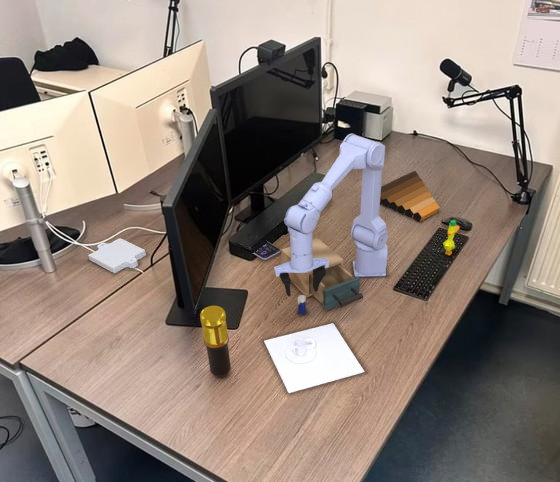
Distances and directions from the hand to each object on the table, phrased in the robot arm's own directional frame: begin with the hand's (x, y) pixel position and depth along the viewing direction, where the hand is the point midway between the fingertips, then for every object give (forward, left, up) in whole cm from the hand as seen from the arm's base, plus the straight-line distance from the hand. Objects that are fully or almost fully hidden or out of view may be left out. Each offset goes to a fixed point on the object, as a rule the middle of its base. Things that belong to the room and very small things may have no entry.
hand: (301, 291), depth 152 cm
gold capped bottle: (+23, +27, -8) cm, 36 cm away
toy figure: (-47, -28, -8) cm, 56 cm away
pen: (0, 0, -7) cm, 7 cm away
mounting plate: (+60, -30, -8) cm, 67 cm away
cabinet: (-3, -16, -7) cm, 18 cm away
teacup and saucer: (-2, +18, -8) cm, 19 cm away
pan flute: (-43, -65, -8) cm, 79 cm away
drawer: (-9, -6, -6) cm, 13 cm away
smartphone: (+14, -34, -7) cm, 38 cm away
